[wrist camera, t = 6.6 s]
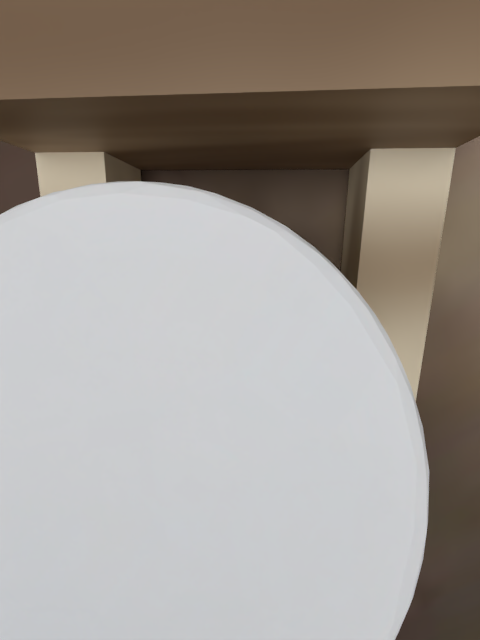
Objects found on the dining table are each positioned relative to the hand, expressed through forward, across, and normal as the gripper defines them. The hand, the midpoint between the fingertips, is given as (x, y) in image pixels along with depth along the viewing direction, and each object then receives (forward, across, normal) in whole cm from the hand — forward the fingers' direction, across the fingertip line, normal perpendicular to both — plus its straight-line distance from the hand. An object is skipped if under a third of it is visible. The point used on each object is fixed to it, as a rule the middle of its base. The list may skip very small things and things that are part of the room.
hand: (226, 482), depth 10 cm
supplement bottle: (+3, 0, -3) cm, 4 cm away
